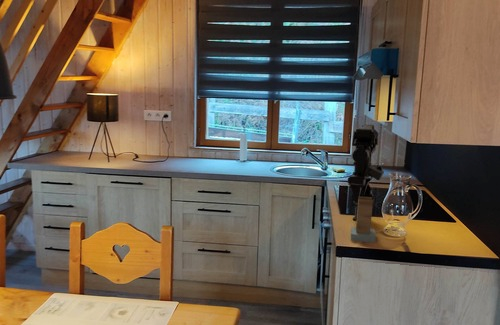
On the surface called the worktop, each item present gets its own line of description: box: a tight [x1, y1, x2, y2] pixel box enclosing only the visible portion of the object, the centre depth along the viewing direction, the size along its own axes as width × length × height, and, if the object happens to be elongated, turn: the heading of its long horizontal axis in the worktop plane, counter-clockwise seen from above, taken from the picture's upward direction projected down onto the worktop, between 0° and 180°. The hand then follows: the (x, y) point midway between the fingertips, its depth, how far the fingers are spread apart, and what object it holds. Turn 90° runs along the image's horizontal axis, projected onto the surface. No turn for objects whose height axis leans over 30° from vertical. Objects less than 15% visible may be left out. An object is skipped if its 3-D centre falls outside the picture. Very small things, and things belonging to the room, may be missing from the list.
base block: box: [350, 226, 377, 243], centre depth 173 cm, size 9×9×3 cm
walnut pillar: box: [355, 196, 373, 234], centre depth 172 cm, size 5×5×13 cm
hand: (359, 197), depth 182 cm, fingers open, 9 cm apart
